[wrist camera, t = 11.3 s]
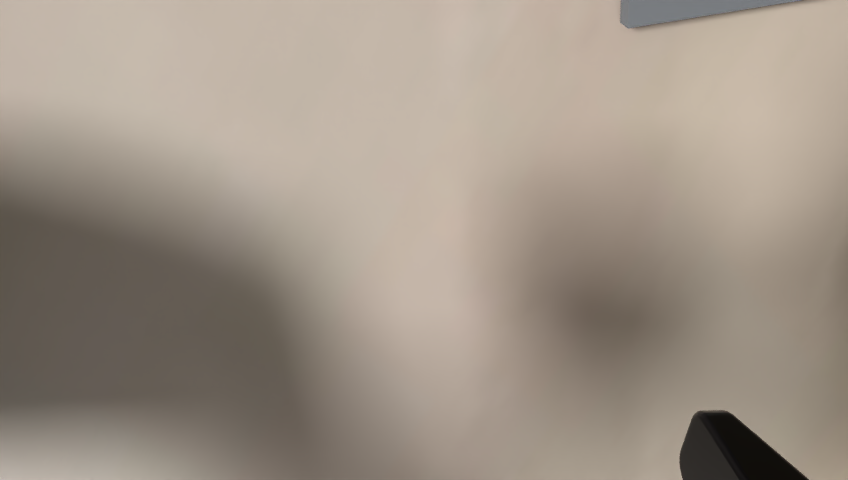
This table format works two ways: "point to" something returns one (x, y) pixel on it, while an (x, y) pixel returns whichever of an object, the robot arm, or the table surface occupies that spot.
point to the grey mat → (681, 9)
